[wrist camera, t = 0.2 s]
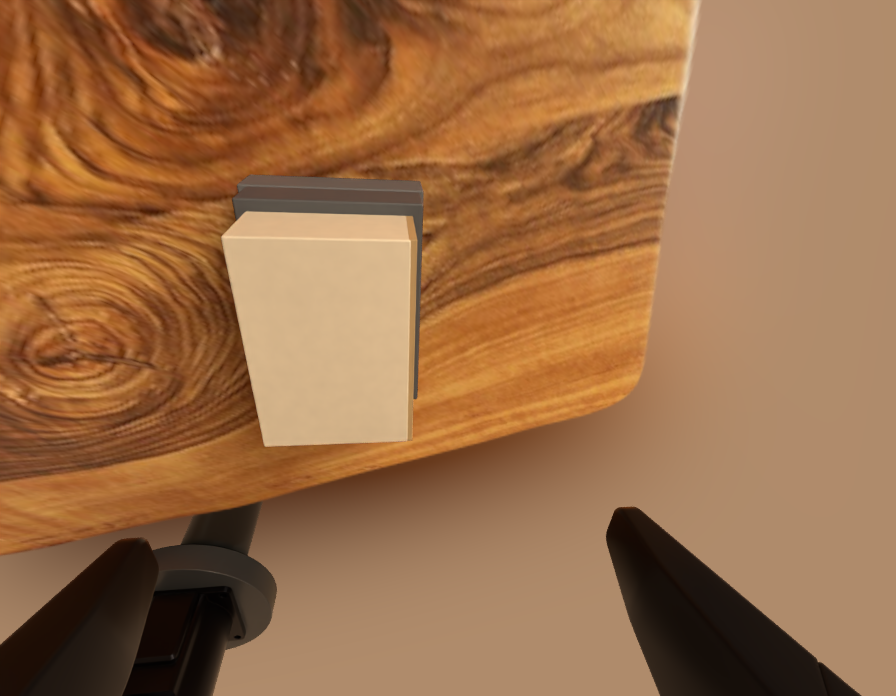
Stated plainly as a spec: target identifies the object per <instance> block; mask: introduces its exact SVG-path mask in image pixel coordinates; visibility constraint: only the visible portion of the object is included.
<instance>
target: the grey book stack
mask: <svg viewBox="0 0 896 696" xmlns="http://www.w3.org/2000/svg"><path fill="white" fill-rule="evenodd" d="M237 188H238V194H237V195H236V196H234V197H233V198H232V201H233V207H234V212H235V218H236V221H237V220H238V219H239V218H240V217H241V216H242V215H243V214H244V213H245V212H246V211H249V212H285V213H321V214H357V215H393V216H413V220H414V226H415V231H416V236H417V274H416V314H415V354H414V394H413V399H417V392H418V360H419V327H420V295H421V262H422V230H423V189H422V186H421V183H420V181H402V180H376V179H350V178H323V177H297V176H271V175H249V176H247V177H246V178H245V179H244V180H242V181H241V182H240V183H239V184H237Z"/></svg>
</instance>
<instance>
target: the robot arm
mask: <svg viewBox="0 0 896 696" xmlns="http://www.w3.org/2000/svg"><path fill="white" fill-rule="evenodd" d="M606 541H607V546H608V549H609V553H610V556H611V559H612V563H613V566H614V569H615V572H616V576H617V579H618V583H619V586H620V589H621V593H622V596H623V600H624V602H625V606H626V610H627V613H628V616H629V619H630V622H631V624H632V627H633V629H634V632H635V634H636V637H637V640H638V642H639V645H640V647H641V649H642V652H643V654H644V657H645V659H646V662H647V664H648V667H649V669H650V672H651V674H652V677H653V679H654V682H655V684H656V686H657V689H658V691H659V694H660V696H861V695H860V694H859V693H857V692H856V691H855V690H854V689H853V688H851V687H850V686H849V685H848V684H846V683H845V682H844V681H843V680H842V679H841V678H839V677H838V676H837V675H836V674H835V673H833V672H832V671H831V670H830V669H829V668H828V667H826V666H825V665H824V664H823V663H821V662H818V661H817V659H816V658H815V657H814V656H813V655H812V654H811V653H809V652H808V651H807V650H806V649H805V648H804V647H802V646H801V645H800V644H799V643H798V642H796V641H795V640H794V639H793V638H792V637H791V636H789V635H788V634H787V633H786V632H785V631H783V630H782V629H781V628H780V627H779V626H778V625H776V624H775V623H774V622H773V621H772V620H770V619H769V618H768V617H767V616H766V615H764V614H763V613H762V612H761V611H760V610H758V609H757V608H756V607H755V606H754V605H752V604H751V603H750V602H749V601H748V600H747V599H745V598H744V597H743V596H742V595H741V594H740V593H738V592H737V591H736V590H735V589H733V588H732V587H731V586H730V585H729V584H728V583H727V582H725V581H724V580H723V579H722V578H720V577H719V576H718V575H717V574H716V573H715V572H713V571H712V570H711V569H710V568H709V567H708V566H706V565H705V564H704V563H703V562H701V561H700V560H699V559H698V558H697V557H696V556H694V555H693V554H692V553H691V552H690V551H688V550H687V549H686V548H685V547H684V546H683V545H681V544H680V543H679V542H678V541H677V540H675V539H674V538H673V537H672V536H671V535H670V534H668V533H667V532H666V531H665V530H664V529H662V528H661V527H660V526H659V525H658V524H657V523H655V522H654V521H653V520H652V519H651V518H649V517H648V516H647V515H646V514H645V513H643V512H642V511H641V510H640V509H638V508H636V507H619V508H617V509H616V510H615V511H614V513H613V516H612V519H611V521H610V524H609V527H608V529H607V534H606ZM158 574H159V566H158V562H157V560H156V558H155V556H154V553H153V551H152V549H151V547H150V545H149V542H148V541H147V540H146V539H144V538H127V539H121V540H119V541H117V542H115V544H113V545H112V546H111V547H110V548H108V549H107V550H106V551H105V552H104V553H103V554H102V555H101V556H100V557H98V558H97V559H96V560H95V561H94V562H93V563H92V564H90V565H89V566H88V567H87V568H86V569H85V570H84V571H83V572H81V573H80V574H79V575H78V576H77V577H76V578H75V579H74V580H72V581H71V582H70V583H69V584H68V585H67V586H66V587H65V588H63V589H62V590H61V591H60V592H59V593H58V594H57V595H56V596H54V597H53V598H52V599H51V600H50V601H49V602H48V603H47V604H45V605H44V606H43V607H42V608H41V609H40V610H39V611H38V612H36V613H35V614H34V615H33V616H32V617H31V618H30V619H29V620H27V622H25V623H24V624H23V625H22V626H21V627H20V628H19V629H18V630H16V631H15V632H14V633H13V634H12V635H11V636H9V637H8V638H7V639H6V640H5V641H4V642H3V643H2V644H1V645H0V696H213V692H214V689H215V685H216V682H217V678H218V674H219V671H220V667H221V663H222V660H223V656H224V652H225V649H226V645H227V642H228V641H239V640H242V639H244V638H245V634H246V629H245V626H244V623H243V620H242V617H241V614H240V611H239V608H238V605H237V602H236V599H235V596H234V593H233V590H232V588H230V587H228V586H216V587H203V588H190V589H176V590H163V591H154V590H155V586H156V583H157V579H158Z"/></svg>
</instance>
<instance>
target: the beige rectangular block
mask: <svg viewBox="0 0 896 696" xmlns="http://www.w3.org/2000/svg"><path fill="white" fill-rule="evenodd" d="M221 241H222V245H223V250H224V255H225V260H226V265H227V269H228V274H229V279H230V284H231V289H232V294H233V298H234V303H235V308H236V313H237V318H238V322H239V327H240V332H241V337H242V342H243V347H244V351H245V356H246V361H247V366H248V371H249V375H250V380H251V385H252V390H253V395H254V400H255V404H256V409H257V414H258V419H259V424H260V428H261V433H262V438H263V443H264V446H265V447H273V446H299V445H325V444H351V443H377V442H403V441H412V434H413V394H414V354H415V314H416V274H417V236H416V231H415V226H414V220H413V216H393V215H357V214H321V213H285V212H249V211H246V212H245V213H244V214H243V215H242V216H241V217H240V218H239V219H238V220H237V221H236V222H235V223H234V224H233V225H232V226H231V227H230V228H229V229H228V230H227V231H226V232H225V233H224V234H223V235H222V236H221Z"/></svg>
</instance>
